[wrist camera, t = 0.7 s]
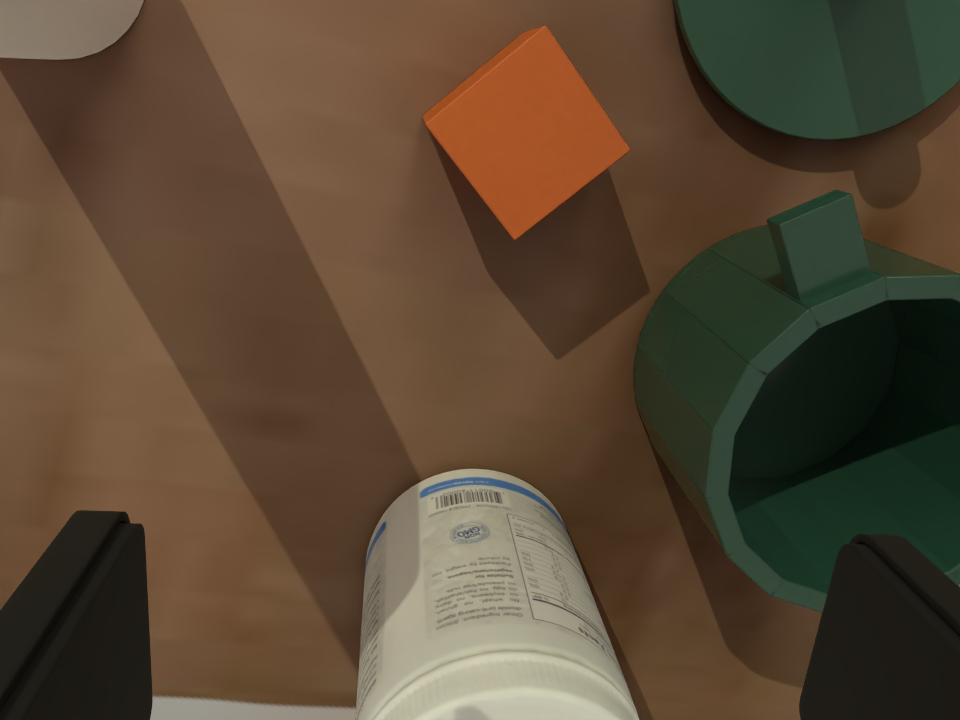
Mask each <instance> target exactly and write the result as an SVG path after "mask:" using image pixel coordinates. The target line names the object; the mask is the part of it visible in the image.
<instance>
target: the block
mask: <svg viewBox="0 0 960 720" xmlns="http://www.w3.org/2000/svg"><path fill="white" fill-rule="evenodd" d="M422 117H423V120H424V122H425V125H426V126H427V128H428V129H429V130H430V132H431V133H432V134H433V135H434V137H435V138H436V139H437V141H438V142H439V143H440V145H441V146H442V147H443V148H444V150H445V151H446V152H447V154H448V155H449V156H450V158H451V159H452V160H453V161H454V163H455V164H456V165H457V167H458V168H459V169H460V171H461V172H462V173H463V174H464V176H465V177H466V178H467V180H468V181H469V182H470V184H471V185H472V186H473V187H474V189H475V190H476V191H477V193H478V194H479V195H480V197H481V198H482V199H483V200H484V202H485V203H486V204H487V206H488V207H489V208H490V210H491V211H492V212H493V213H494V215H495V216H496V217H497V219H498V220H499V221H500V223H501V224H502V225H503V226H504V228H505V229H506V230H507V232H508V233H509V234H510V236H511V237H512V238H513V239H514V240H516V239H517V238H519V237H520V236H521V235H523V234H524V233H525V232H526V231H528V230H529V229H530V228H532V227H533V226H534V225H535V224H537V223H538V222H539V221H541V220H542V219H543V218H544V217H546V216H547V215H548V214H550V213H551V212H552V211H553V210H555V209H556V208H557V207H558V206H560V205H561V204H562V203H564V202H565V201H566V200H567V199H569V198H570V197H571V196H573V195H574V194H575V193H576V192H578V191H579V190H580V189H582V188H583V187H584V186H585V185H587V184H588V183H589V182H591V181H592V180H593V179H594V178H596V177H597V176H598V175H600V174H601V173H602V172H603V171H605V170H606V169H607V168H608V167H610V166H611V165H612V164H614V163H615V162H616V161H617V160H619V159H620V158H621V157H623V156H624V155H625V154H626V153H628V152H629V151H630V148H629V147H628V145H627V144H626V143H625V141H624V140H623V138H622V137H621V135H620V134H619V132H618V131H617V129H616V128H615V126H614V125H613V123H612V122H611V120H610V119H609V118H608V116H607V115H606V113H605V112H604V110H603V109H602V107H601V106H600V104H599V103H598V101H597V100H596V98H595V97H594V96H593V94H592V93H591V91H590V90H589V88H588V87H587V85H586V84H585V82H584V81H583V79H582V78H581V76H580V75H579V73H578V72H577V71H576V69H575V68H574V66H573V65H572V63H571V62H570V60H569V59H568V57H567V56H566V54H565V53H564V51H563V50H562V48H561V47H560V46H559V44H558V43H557V41H556V40H555V38H554V37H553V35H552V34H551V32H550V31H549V29H548V28H547V26H542V27H539V28H536V29H533V30H530V31H527V32H524V33H522V34H521V35H520V36H519V37H517V38H516V39H515V40H514V41H512V42H511V43H510V44H509V45H508V46H506V47H505V48H504V49H503V50H502V51H500V52H499V53H498V54H497V55H495V56H494V57H493V58H492V59H491V60H489V61H488V62H487V63H486V64H485V65H483V66H482V67H481V68H480V69H478V70H477V71H476V72H475V73H474V74H472V75H471V76H470V77H469V78H468V79H466V80H465V81H464V82H463V83H461V84H460V85H459V86H458V87H457V88H455V89H454V90H453V91H452V92H451V93H449V94H448V95H447V96H446V97H444V98H443V99H442V100H441V101H440V102H438V103H437V104H436V105H435V106H434V107H432V108H431V109H430V110H429V111H427V112H426V113H425V114H424V115H423V116H422Z"/></svg>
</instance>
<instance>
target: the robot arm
mask: <svg viewBox="0 0 960 720" xmlns="http://www.w3.org/2000/svg"><path fill="white" fill-rule="evenodd" d="M151 710H152V677H151V656H150V635H149V614H148V593H147V572H146V551H145V534H144V528H143V526H142V524H132V523H130V520H129V517H128V514H127V513H126V512H116V511H83V510H80V511H76V512H75V513H74V514H73V515H72V516H71V518H70V519H69V520H68V522H67V523H66V524H65V526H64V527H63V528H62V530H61V531H60V532H59V534H58V535H57V536H56V538H55V539H54V540H53V542H52V543H51V544H50V546H49V547H48V548H47V549H46V551H45V552H44V553H43V555H42V556H41V557H40V559H39V560H38V561H37V563H36V564H35V565H34V567H33V568H32V569H31V571H30V572H29V573H28V575H27V576H26V577H25V579H24V580H23V581H22V583H21V584H20V585H19V587H18V588H17V589H16V590H15V592H14V593H13V594H12V596H11V597H10V598H9V600H8V601H7V602H6V604H5V605H4V606H3V608H2V609H1V610H0V720H150V716H151ZM799 710H800V717H801V720H960V587H959V586H958V585H957V584H955V583H954V582H953V581H952V580H951V579H950V578H949V577H948V576H947V575H945V574H944V573H943V572H942V571H941V570H940V569H939V568H938V567H937V566H935V565H934V564H933V563H932V562H931V561H930V560H929V559H928V558H927V557H925V556H924V555H923V554H922V553H921V552H920V551H919V550H918V549H917V548H915V547H914V546H913V545H912V544H911V543H910V542H909V541H908V540H907V539H905V538H903V537H902V536H899V535H877V534H858V535H856V536H854V537H853V538H852V540H851V541H850V543H849V544H845V545H843V546H842V547H841V548H840V550H839V552H838V555H837V559H836V563H835V566H834V570H833V574H832V578H831V582H830V586H829V590H828V593H827V597H826V601H825V605H824V609H823V613H822V617H821V620H820V624H819V628H818V632H817V636H816V640H815V644H814V647H813V651H812V655H811V659H810V663H809V667H808V670H807V674H806V678H805V682H804V686H803V690H802V694H801V697H800V704H799Z"/></svg>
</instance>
